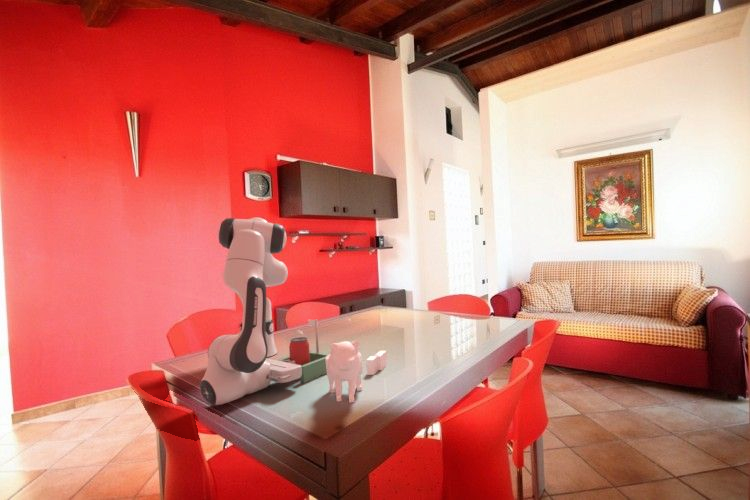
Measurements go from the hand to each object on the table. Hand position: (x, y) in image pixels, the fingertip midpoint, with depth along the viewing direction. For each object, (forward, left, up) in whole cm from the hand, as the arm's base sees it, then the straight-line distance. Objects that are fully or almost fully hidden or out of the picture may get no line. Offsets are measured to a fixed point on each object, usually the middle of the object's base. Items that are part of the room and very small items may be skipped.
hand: (292, 362), depth 118 cm
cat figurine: (+21, -13, -5) cm, 25 cm away
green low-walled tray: (+2, +4, -5) cm, 7 cm away
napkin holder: (+26, +9, -6) cm, 28 cm away
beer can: (+1, +3, -5) cm, 6 cm away
